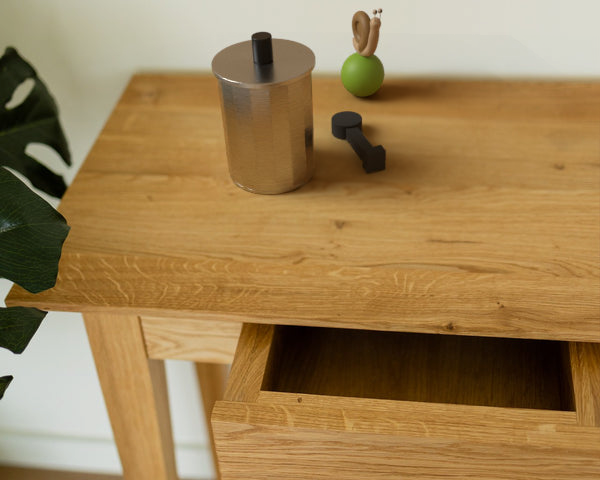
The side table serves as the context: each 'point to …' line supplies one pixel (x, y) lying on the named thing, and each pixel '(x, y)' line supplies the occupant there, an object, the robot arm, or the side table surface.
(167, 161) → the side table surface
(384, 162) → the black disc-ended bar
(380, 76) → the snail figurine
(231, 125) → the pot
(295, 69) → the pot lid
